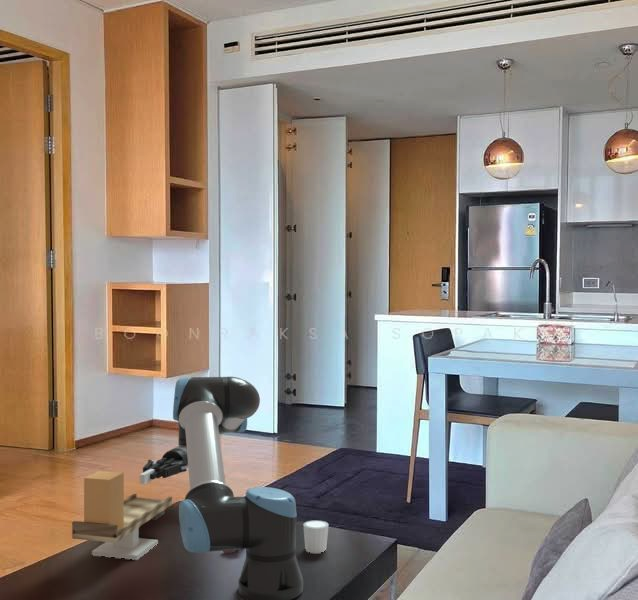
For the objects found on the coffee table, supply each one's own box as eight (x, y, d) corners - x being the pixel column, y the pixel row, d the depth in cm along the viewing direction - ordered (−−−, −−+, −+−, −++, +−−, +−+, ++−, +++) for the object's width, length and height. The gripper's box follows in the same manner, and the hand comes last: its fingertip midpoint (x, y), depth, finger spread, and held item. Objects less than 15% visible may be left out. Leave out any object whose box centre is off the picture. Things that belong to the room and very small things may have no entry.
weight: (109, 536, 179) (109, 479, 178) (84, 533, 180) (84, 477, 180) (123, 526, 186) (123, 472, 185) (99, 524, 187) (98, 470, 187)
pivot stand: (137, 560, 187) (137, 537, 187) (91, 555, 190) (91, 532, 190) (157, 544, 199) (157, 522, 199) (115, 540, 202) (115, 518, 202)
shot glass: (332, 552, 194) (332, 526, 194) (307, 555, 191) (308, 529, 191) (323, 543, 200) (323, 518, 200) (299, 546, 198) (299, 521, 198)
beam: (115, 553, 178) (115, 525, 177) (72, 548, 180) (72, 521, 180) (171, 513, 209) (172, 489, 209) (134, 510, 211) (134, 486, 211)
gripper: (196, 473, 225) (163, 494, 202) (158, 470, 228) (121, 491, 205) (197, 449, 225) (163, 467, 202) (158, 446, 228) (121, 464, 205)
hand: (142, 479), depth 203 cm, fingers closed
